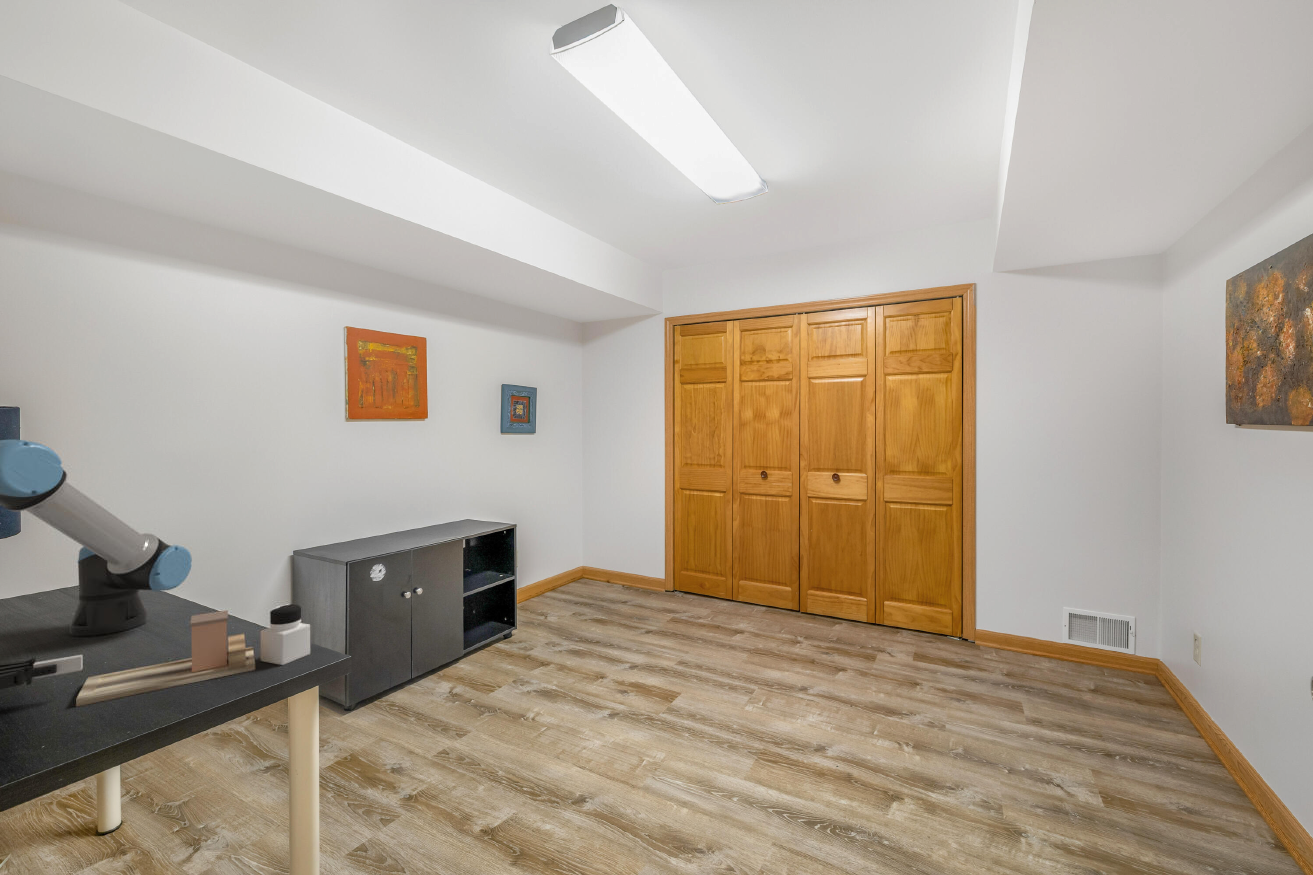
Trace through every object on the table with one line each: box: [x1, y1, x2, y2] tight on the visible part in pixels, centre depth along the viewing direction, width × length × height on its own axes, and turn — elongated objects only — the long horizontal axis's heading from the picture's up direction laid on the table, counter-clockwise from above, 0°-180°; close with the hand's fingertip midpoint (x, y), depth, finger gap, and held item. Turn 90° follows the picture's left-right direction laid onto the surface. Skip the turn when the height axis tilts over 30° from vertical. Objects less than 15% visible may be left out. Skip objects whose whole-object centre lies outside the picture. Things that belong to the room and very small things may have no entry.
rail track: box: [75, 633, 256, 707], centre depth 122 cm, size 12×28×5 cm, turn 127°
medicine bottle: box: [260, 603, 311, 666], centre depth 132 cm, size 7×7×12 cm
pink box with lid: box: [189, 610, 229, 672], centre depth 125 cm, size 6×6×11 cm
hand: (81, 662), depth 113 cm, fingers closed
